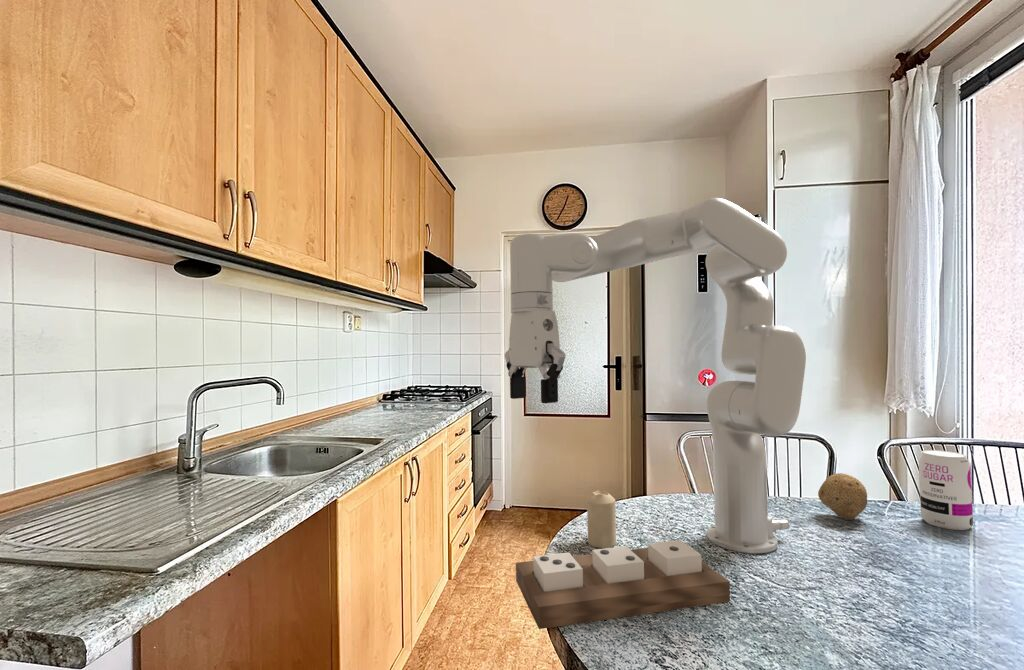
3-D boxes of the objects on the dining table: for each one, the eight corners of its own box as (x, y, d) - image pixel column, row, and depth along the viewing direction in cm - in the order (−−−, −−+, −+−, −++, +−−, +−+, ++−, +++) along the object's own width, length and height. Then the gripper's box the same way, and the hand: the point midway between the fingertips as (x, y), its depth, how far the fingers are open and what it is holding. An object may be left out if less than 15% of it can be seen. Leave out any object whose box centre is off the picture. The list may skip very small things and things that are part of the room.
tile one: (680, 557, 81) (680, 539, 81) (701, 573, 75) (701, 553, 75) (648, 561, 80) (648, 542, 80) (667, 578, 74) (667, 557, 74)
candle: (616, 549, 91) (615, 496, 91) (587, 547, 92) (586, 495, 92) (615, 538, 96) (614, 488, 96) (588, 536, 97) (587, 487, 97)
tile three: (569, 571, 77) (569, 551, 77) (582, 589, 71) (582, 568, 71) (533, 575, 75) (533, 555, 75) (544, 594, 69) (544, 572, 70)
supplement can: (967, 521, 103) (964, 451, 103) (978, 534, 96) (974, 459, 96) (918, 515, 107) (915, 448, 107) (925, 526, 100) (922, 455, 100)
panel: (678, 561, 85) (677, 544, 85) (730, 601, 72) (729, 581, 72) (516, 581, 79) (515, 562, 79) (538, 629, 65) (538, 607, 65)
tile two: (626, 564, 79) (626, 545, 79) (644, 581, 73) (643, 560, 73) (592, 568, 78) (592, 548, 78) (607, 586, 72) (607, 564, 72)
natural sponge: (812, 517, 106) (810, 472, 106) (828, 509, 111) (827, 466, 112) (860, 529, 99) (858, 481, 99) (875, 520, 104) (873, 474, 104)
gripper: (579, 301, 80) (581, 403, 79) (522, 309, 94) (523, 395, 94) (543, 298, 76) (544, 406, 75) (489, 307, 90) (490, 398, 90)
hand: (533, 400), depth 84 cm, fingers open, 9 cm apart
